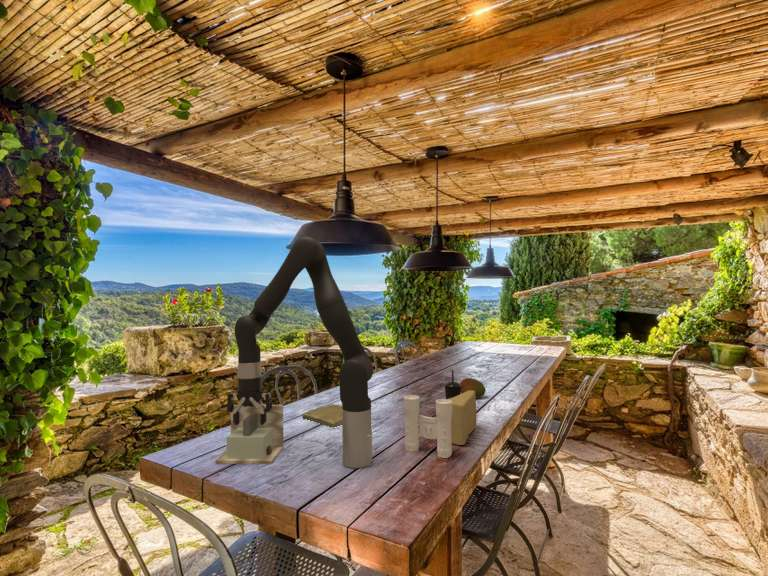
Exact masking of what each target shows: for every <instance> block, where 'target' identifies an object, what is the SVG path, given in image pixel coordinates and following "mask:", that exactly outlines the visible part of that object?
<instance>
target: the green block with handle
mask: <svg viewBox="0 0 768 576" xmlns="http://www.w3.org/2000/svg"><path fill="white" fill-rule="evenodd" d="M268 446H271V447H272V449H273V428H257V414H251V415H249V416H248V417H247V418H246V419H244V420H243V428H237V429H236V430H235V431H233V432H232V433H231V432H230V434H228V435H227V436H226V450H227V459H264V458H265V457H266V448H267V447H268Z"/></svg>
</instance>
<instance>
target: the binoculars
mask: <svg viewBox="0 0 768 576" xmlns="http://www.w3.org/2000/svg"><path fill="white" fill-rule="evenodd" d="M403 412H404V418H405V419H404V420H405V421H404V422H405V423H404V425H405V426H404V428H405V429H404V436H405V437H404V447H405V449H406V450H407V451H417V450H418V449H419V446H420V440H419V438H422V437H423V438H424V439H428V440H436V441H437V445H436V453H437V457H438V456H439V457H442V458H448V457H450V456H451V455H452V452H453V446H452V445H453V444H452V443H451V418H452V401H451V400H448V399H446V398H441V399H436V400H435V414H436V417H431V416H430V417H429V416H426V415H423V414H419V413H420V396H419V395H415V394H408V395H404V396H403ZM405 449H404V450H405ZM406 450H405V451H406ZM419 450H420V449H419ZM419 450H418V451H419ZM407 451H406V452H407ZM418 451H417V452H418ZM452 456H453V455H452ZM439 457H438V458H439Z"/></svg>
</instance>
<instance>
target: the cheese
mask: <svg viewBox="0 0 768 576" xmlns="http://www.w3.org/2000/svg"><path fill="white" fill-rule="evenodd" d="M476 399H477V398H476V396H475V391H472V390H469V391H466V392H464V393H461V394H460V395H458V396H455V397H453V398H450V399H448V400H451V401H452V418H451V443H455V444H460V445H464V446H465V445H466V442H467V440H468V438H469V436H470V435H471V434H472V433H473V432H474V431H475V430H474V428H475V427H476V428H477V400H476ZM476 428H475V429H476ZM473 430H474V431H473ZM472 431H473V432H472ZM471 432H472V433H471ZM470 433H471V434H470ZM469 434H470V435H469ZM468 435H469V436H468ZM467 437H468V438H467ZM466 439H467V440H466Z"/></svg>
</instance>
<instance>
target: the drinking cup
mask: <svg viewBox="0 0 768 576" xmlns="http://www.w3.org/2000/svg"><path fill="white" fill-rule="evenodd" d="M454 371H455V369H452V370H451V381H448V382H445V383H443V386H444V392H445V399H450V398H453V397H455V396H458V395H460V394H462V393H461V386H462V384H460V383H459V382H458V381H455V380H454V379H455V377H454V373H455V372H454Z"/></svg>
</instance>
